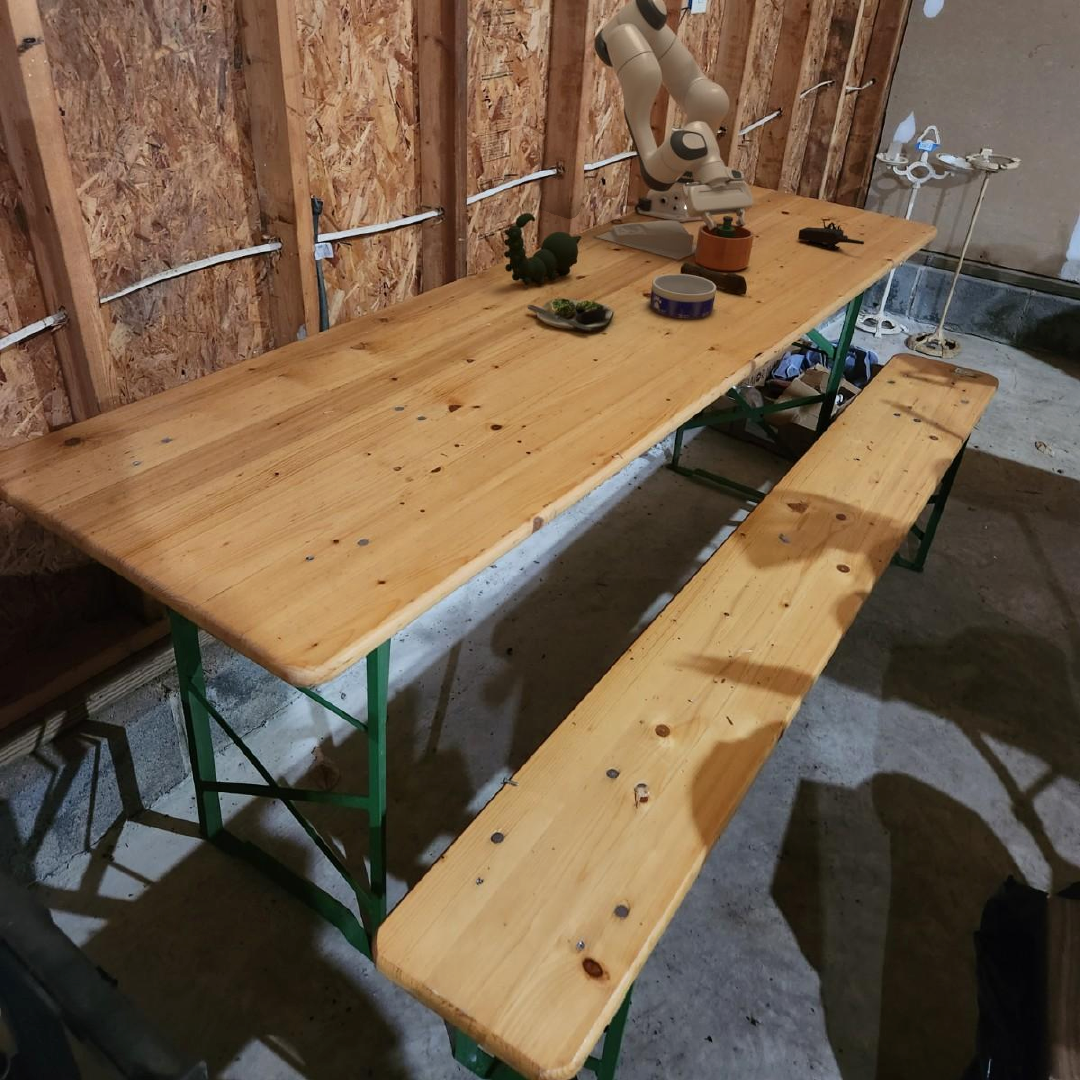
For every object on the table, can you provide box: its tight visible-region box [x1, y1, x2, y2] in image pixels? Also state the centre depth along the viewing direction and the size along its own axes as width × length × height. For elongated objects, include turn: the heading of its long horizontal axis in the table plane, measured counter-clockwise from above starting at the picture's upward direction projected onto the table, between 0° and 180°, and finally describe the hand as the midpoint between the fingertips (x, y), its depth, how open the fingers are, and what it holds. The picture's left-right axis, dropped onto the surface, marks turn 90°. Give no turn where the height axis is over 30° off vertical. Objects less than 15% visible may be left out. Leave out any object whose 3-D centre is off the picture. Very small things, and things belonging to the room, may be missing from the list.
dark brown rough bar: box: [679, 262, 748, 295], centre depth 237 cm, size 19×4×5 cm, turn 48°
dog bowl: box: [649, 273, 717, 320], centre depth 223 cm, size 15×15×6 cm
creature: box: [821, 217, 845, 234], centre depth 283 cm, size 8×5×8 cm
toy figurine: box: [503, 212, 582, 287], centre depth 230 cm, size 9×19×25 cm
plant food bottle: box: [716, 215, 735, 238], centre depth 251 cm, size 5×5×12 cm
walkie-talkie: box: [797, 226, 865, 251], centre depth 271 cm, size 6×6×20 cm
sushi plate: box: [526, 297, 615, 334], centre depth 213 cm, size 19×18×5 cm
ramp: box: [595, 220, 697, 261], centre depth 266 cm, size 28×16×5 cm, turn 53°
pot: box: [694, 222, 755, 272], centre depth 252 cm, size 15×15×9 cm
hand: (727, 227), depth 249 cm, fingers open, 8 cm apart
